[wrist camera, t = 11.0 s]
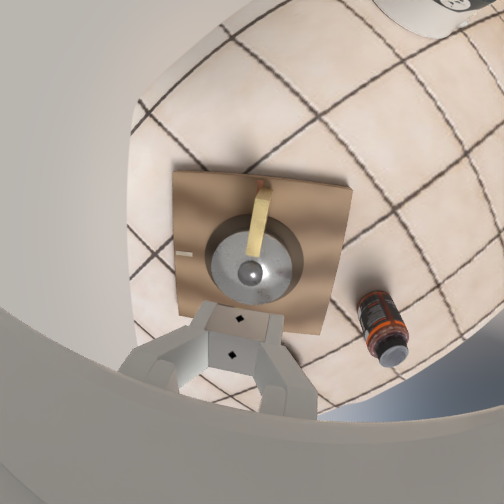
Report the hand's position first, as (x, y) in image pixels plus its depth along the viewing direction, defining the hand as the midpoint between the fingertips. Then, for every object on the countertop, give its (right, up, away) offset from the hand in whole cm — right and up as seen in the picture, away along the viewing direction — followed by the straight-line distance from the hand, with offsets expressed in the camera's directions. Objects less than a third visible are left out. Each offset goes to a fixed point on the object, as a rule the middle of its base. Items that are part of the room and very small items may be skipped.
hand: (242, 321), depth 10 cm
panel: (+1, +2, +27) cm, 27 cm away
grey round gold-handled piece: (+1, +3, +24) cm, 24 cm away
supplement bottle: (+19, -6, +28) cm, 35 cm away
